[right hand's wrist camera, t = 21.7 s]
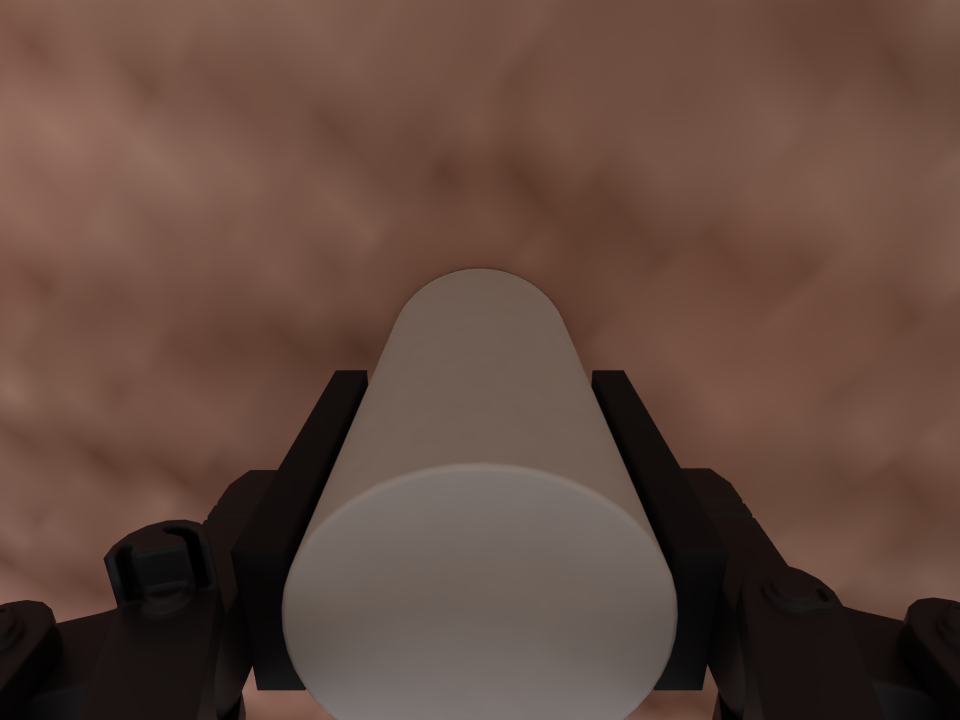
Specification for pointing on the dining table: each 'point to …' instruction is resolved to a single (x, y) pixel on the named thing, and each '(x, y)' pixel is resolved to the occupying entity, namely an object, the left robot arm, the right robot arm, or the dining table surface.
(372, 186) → the dining table surface
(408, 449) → the can
